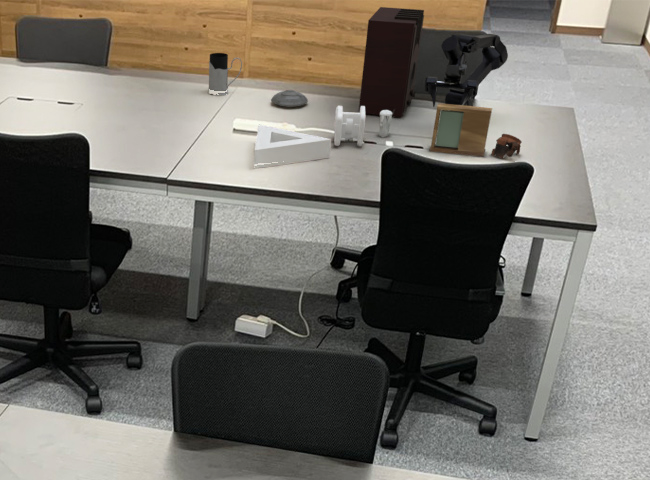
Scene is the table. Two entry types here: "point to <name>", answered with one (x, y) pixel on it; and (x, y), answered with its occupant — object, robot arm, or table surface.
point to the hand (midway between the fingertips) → (446, 107)
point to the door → (449, 128)
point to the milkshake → (385, 122)
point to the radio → (391, 60)
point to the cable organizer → (349, 125)
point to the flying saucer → (289, 98)
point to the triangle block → (288, 147)
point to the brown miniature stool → (503, 149)
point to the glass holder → (219, 72)
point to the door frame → (466, 130)
